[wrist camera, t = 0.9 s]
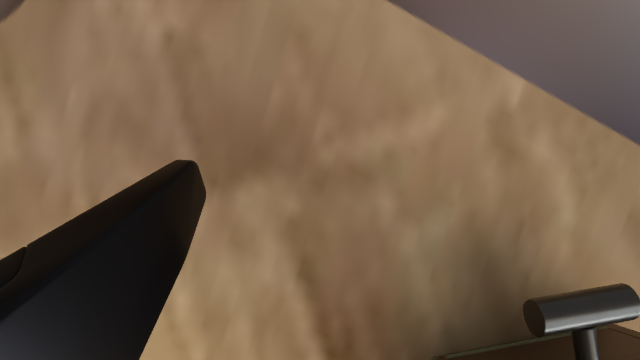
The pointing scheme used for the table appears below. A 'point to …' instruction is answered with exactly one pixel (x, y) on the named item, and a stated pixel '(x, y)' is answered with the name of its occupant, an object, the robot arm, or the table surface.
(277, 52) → the table surface
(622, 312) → the shelf
